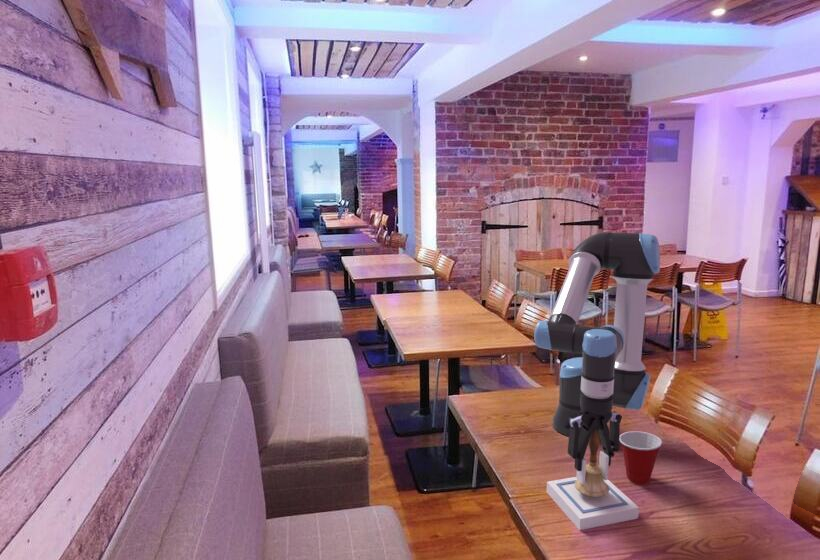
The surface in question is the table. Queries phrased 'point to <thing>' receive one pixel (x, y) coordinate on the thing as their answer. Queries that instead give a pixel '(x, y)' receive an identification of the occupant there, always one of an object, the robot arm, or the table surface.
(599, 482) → the hand bell
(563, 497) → the display board
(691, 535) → the table surface
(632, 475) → the plastic cup
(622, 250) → the robot arm
